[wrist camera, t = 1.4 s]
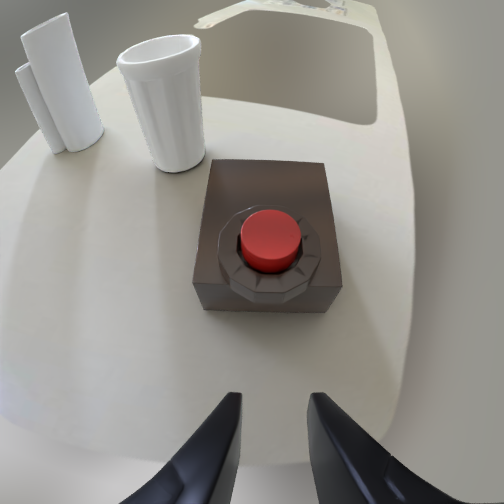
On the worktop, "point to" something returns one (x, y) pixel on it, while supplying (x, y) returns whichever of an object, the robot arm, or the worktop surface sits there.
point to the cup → (167, 98)
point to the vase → (58, 87)
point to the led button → (270, 240)
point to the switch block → (229, 238)
